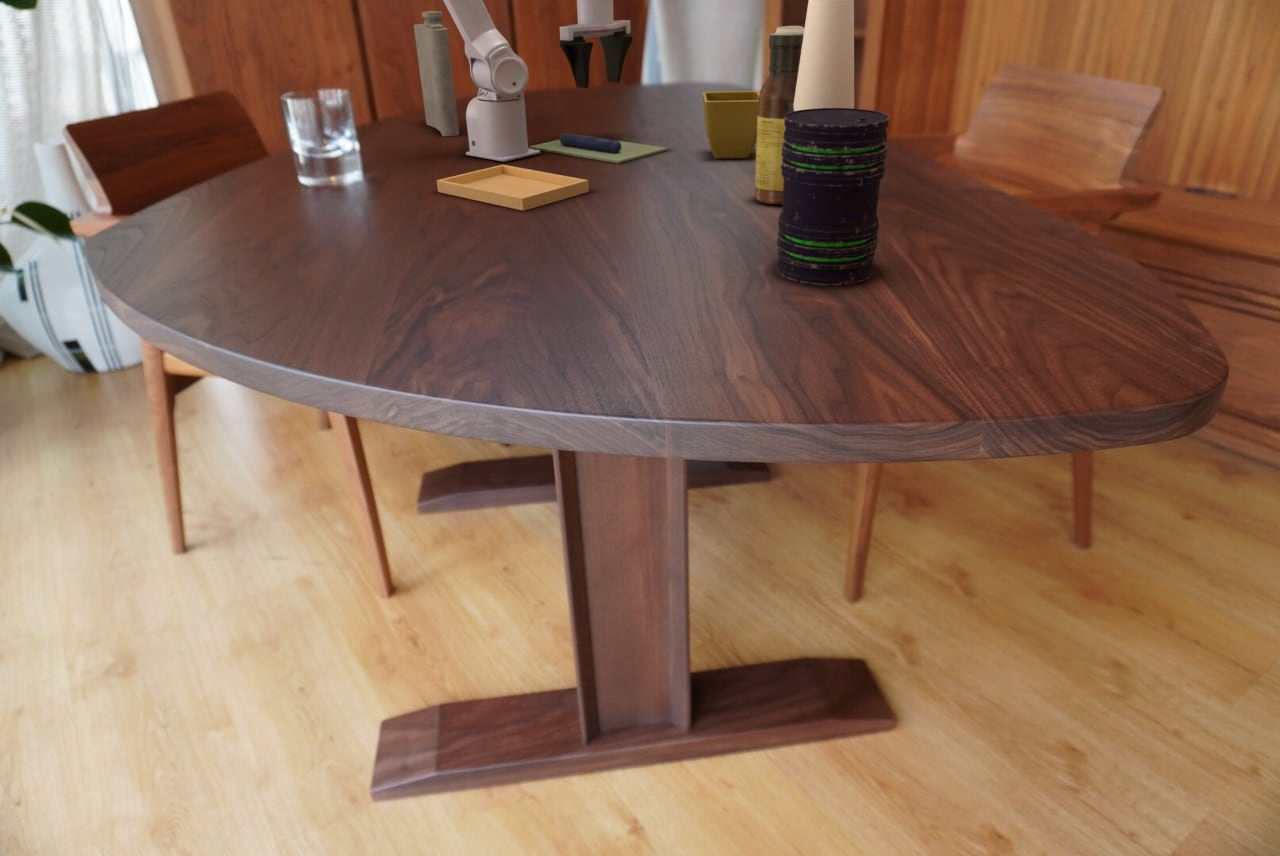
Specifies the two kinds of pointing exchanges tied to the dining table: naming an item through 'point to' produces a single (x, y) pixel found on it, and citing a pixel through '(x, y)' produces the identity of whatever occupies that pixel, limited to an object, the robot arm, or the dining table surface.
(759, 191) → the sauce bottle
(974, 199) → the dining table surface
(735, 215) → the dining table surface
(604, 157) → the mat
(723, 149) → the flower pot
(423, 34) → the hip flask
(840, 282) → the black cylinder
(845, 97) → the cream tapered cone
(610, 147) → the pen
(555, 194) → the tray
